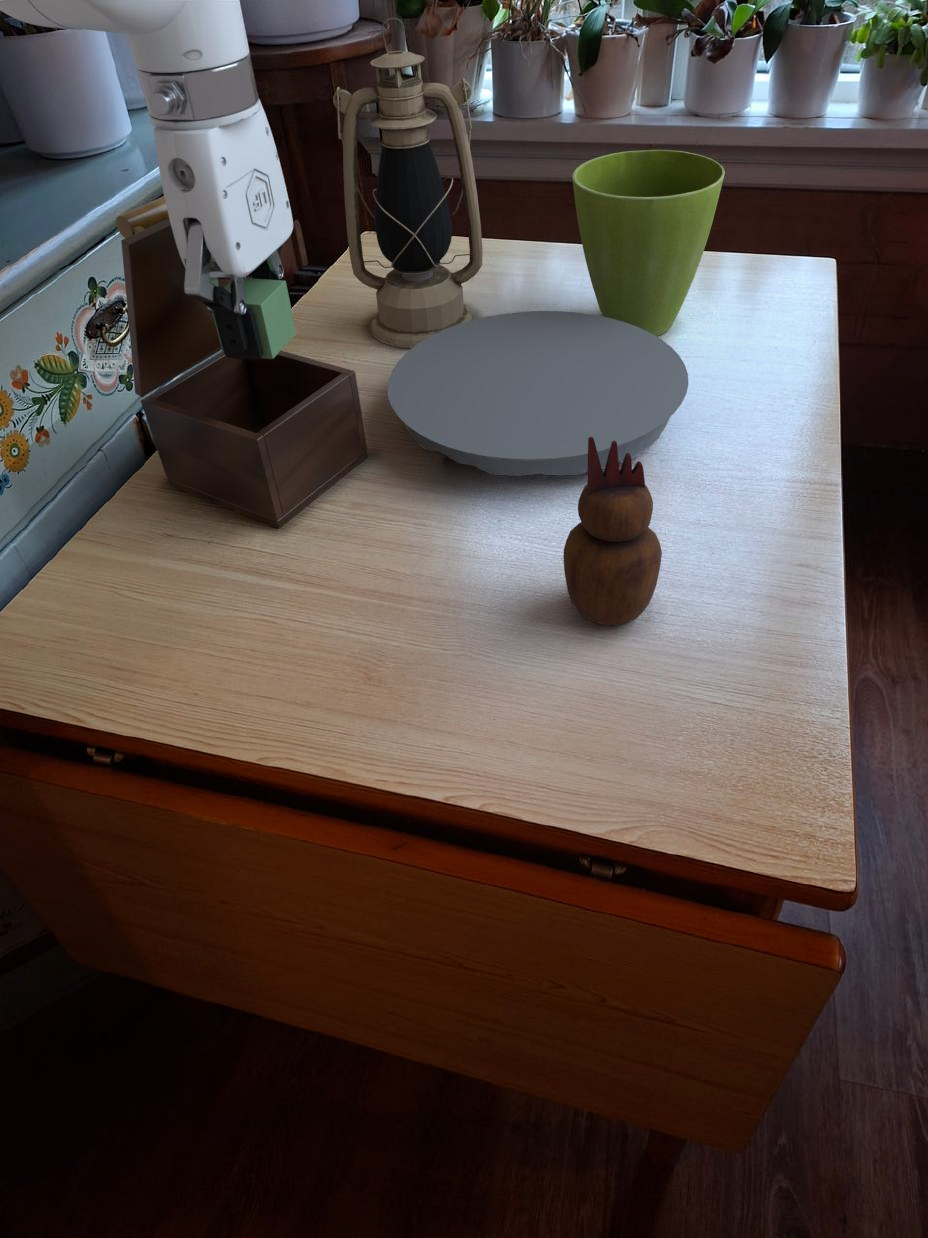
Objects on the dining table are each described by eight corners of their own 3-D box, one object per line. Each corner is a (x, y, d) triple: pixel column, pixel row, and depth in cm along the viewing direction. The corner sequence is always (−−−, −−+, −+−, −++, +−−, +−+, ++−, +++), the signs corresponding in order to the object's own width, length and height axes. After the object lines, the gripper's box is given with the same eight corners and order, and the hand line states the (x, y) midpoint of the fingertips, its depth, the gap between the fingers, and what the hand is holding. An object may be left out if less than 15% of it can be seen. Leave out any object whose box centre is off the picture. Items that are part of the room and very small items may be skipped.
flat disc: (345, 476, 83) (337, 434, 80) (451, 338, 102) (448, 300, 98) (651, 525, 75) (655, 480, 72) (705, 366, 93) (710, 325, 90)
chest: (368, 456, 85) (355, 370, 79) (279, 528, 78) (256, 440, 72) (261, 421, 91) (241, 339, 85) (169, 485, 83) (139, 400, 77)
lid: (247, 189, 73) (201, 161, 74) (128, 244, 66) (78, 212, 67) (243, 336, 84) (203, 310, 85) (141, 397, 77) (98, 368, 78)
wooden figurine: (555, 628, 66) (557, 453, 56) (572, 578, 70) (576, 406, 60) (648, 643, 65) (667, 465, 55) (660, 591, 69) (679, 416, 59)
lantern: (484, 298, 109) (469, -1, 88) (487, 343, 100) (473, 24, 80) (363, 306, 109) (321, 11, 89) (357, 352, 101) (308, 36, 80)
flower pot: (547, 340, 100) (547, 187, 89) (601, 287, 109) (607, 143, 98) (678, 365, 94) (695, 205, 83) (723, 307, 103) (744, 156, 92)
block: (248, 329, 76) (235, 276, 73) (296, 333, 75) (285, 280, 72) (223, 354, 73) (208, 300, 70) (273, 359, 72) (260, 304, 69)
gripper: (187, 129, 55) (254, 398, 67) (302, 60, 66) (341, 300, 79) (82, 127, 57) (166, 389, 69) (211, 60, 68) (263, 295, 81)
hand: (258, 339), depth 74 cm, fingers closed on block, 4 cm apart
